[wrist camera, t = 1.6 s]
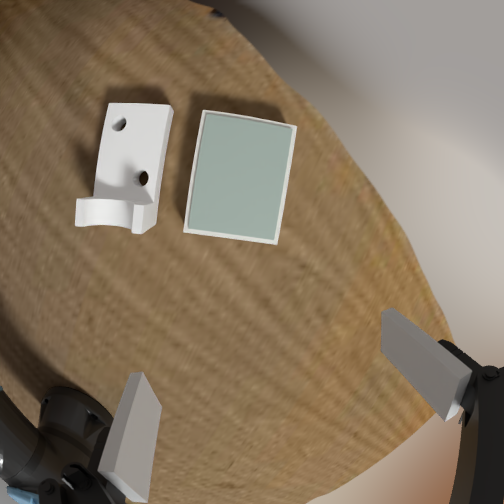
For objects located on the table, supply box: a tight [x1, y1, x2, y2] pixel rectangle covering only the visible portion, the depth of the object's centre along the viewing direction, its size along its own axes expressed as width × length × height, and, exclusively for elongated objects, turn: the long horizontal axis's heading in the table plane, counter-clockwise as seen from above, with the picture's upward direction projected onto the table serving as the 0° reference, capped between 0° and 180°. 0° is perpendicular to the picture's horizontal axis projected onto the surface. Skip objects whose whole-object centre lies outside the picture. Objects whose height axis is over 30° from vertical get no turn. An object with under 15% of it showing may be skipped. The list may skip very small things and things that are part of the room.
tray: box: [183, 110, 297, 245], centre depth 29 cm, size 10×13×3 cm
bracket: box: [75, 103, 174, 234], centre depth 26 cm, size 13×7×8 cm, turn 170°
